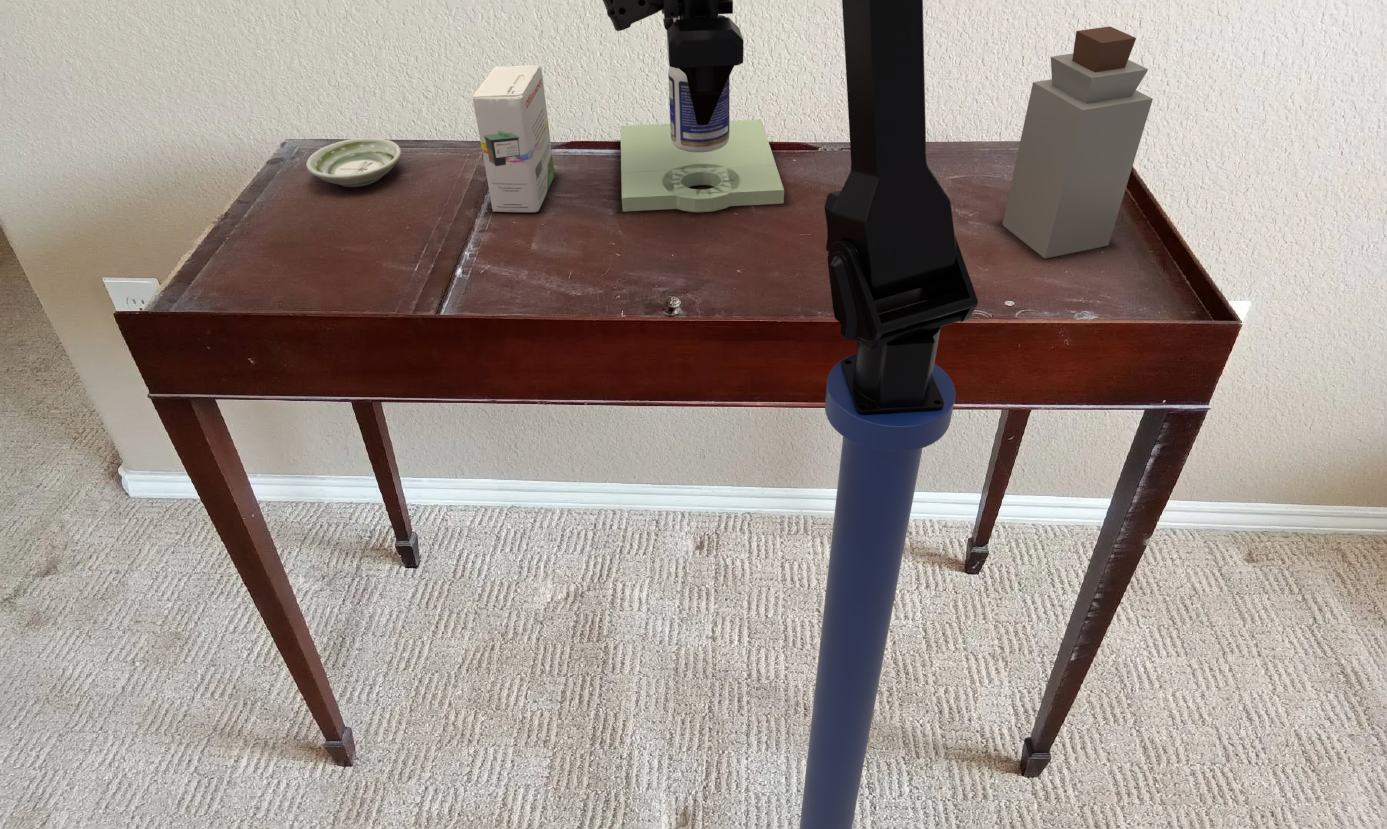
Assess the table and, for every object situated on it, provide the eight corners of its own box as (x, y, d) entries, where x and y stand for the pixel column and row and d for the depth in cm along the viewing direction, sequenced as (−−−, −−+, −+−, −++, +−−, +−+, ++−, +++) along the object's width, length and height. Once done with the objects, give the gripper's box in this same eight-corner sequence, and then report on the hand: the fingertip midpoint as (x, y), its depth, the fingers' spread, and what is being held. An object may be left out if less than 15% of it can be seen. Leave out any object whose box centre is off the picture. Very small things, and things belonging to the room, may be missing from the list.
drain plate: (785, 208, 90) (785, 194, 89) (622, 216, 90) (621, 202, 89) (761, 131, 105) (761, 118, 104) (621, 138, 104) (620, 125, 103)
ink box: (510, 175, 97) (492, 62, 90) (556, 176, 97) (542, 63, 89) (490, 212, 91) (469, 94, 83) (539, 213, 90) (522, 95, 83)
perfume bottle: (1063, 213, 88) (1114, 17, 77) (1108, 245, 83) (1170, 41, 72) (1002, 224, 87) (1044, 27, 75) (1044, 258, 82) (1097, 52, 70)
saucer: (322, 160, 101) (316, 139, 100) (411, 155, 102) (406, 134, 100) (303, 200, 94) (296, 178, 92) (399, 194, 94) (393, 171, 93)
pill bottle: (741, 141, 89) (742, 35, 83) (701, 159, 86) (700, 51, 80) (698, 126, 93) (696, 23, 86) (658, 143, 89) (653, 38, 83)
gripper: (602, -88, 85) (615, 81, 94) (600, -38, 70) (616, 156, 80) (723, -93, 85) (723, 76, 95) (745, -44, 71) (743, 150, 80)
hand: (700, 111), depth 88 cm, fingers closed on pill bottle, 6 cm apart
